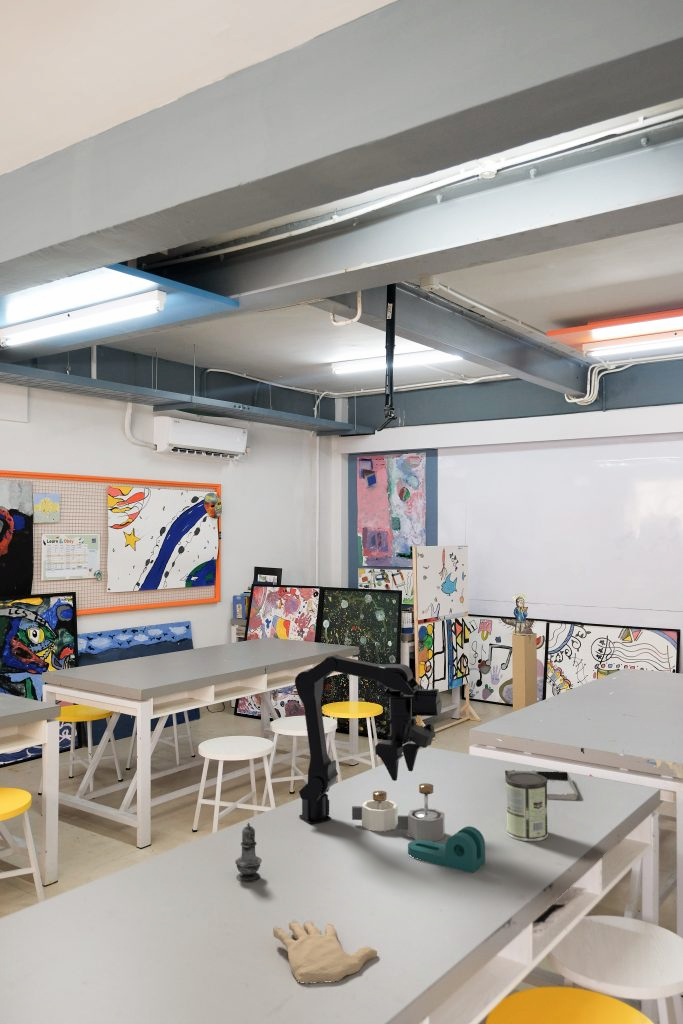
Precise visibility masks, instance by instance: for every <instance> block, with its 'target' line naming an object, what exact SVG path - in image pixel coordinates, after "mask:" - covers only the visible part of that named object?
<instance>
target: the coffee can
mask: <svg viewBox="0 0 683 1024" xmlns="http://www.w3.org/2000/svg"><path fill="white" fill-rule="evenodd" d="M505 785H506V834H507V835H508V836H509V837H510V838H512V839H514V840H516V841H523V842H540V841H543V840H545V839H547V838H548V836H549V834H548V799H547V794H548V779H547V778H546V777H544V776H542V775H539V774H534V773H513V774H509V775H507V776H506V779H505Z"/></svg>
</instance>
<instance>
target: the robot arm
mask: <svg viewBox="0 0 683 1024" xmlns="http://www.w3.org/2000/svg"><path fill="white" fill-rule="evenodd" d="M412 671H413V670H412V669H411V668H410V667H409V665H406V664H401V663H387V664H385V663H384V664H383V663H382V664H379V663H373V662H370V661H364V660H361V659H354V658H350V657H346V656H341V655H339V654H335V653H334V654H332V655H329V656H327V657H325V659H324V660H322V661H320V663H318V664H317V665H316V666H314V667H310V668H308V669H306V670H304V671H301V672H299V673H298V674H297V675H296V677H295V679H294V686H295V689H296V693H297V695H298V698H299V699H300V702H301V703H302V704H303V710H304V711H303V712H304V716H305V726H306V732H307V739H308V748H309V749H308V750H309V755H310V757H309V758H310V759H309V764H308V769H307V783H306V784H305V785H304V786H303V787H302V788H301V789H300V790H299V792H298V793H299V796H300V799H301V808H302V809H301V814H299V815H298V817H299V818H300V819H302V820H304V821H305V822H307V823H308V824H310V825H313V824H317V823H323V822H326V821H331V820H332V817H331V816H330V799H329V795H328V794H327V793H328V792H329V791H330V788H331V787H332V786H333V785H335V783H336V781H337V776H338V775H339V772H338V771H337V761H336V759H333V760H331V758H330V756H329V754H328V750H327V749H328V748H327V742H326V741H327V740H326V734H325V732H326V731H325V726H324V719H323V718H324V717H323V711H322V703H321V701H322V697H323V692H324V680H325V679H327V677H329V676H330V675H332V673H334V672H336V673H341V674H345V675H349V676H354V677H359V678H363V679H368V680H371V681H372V680H373V681H375V682H378V683H379V684H380V685H382V686H384V687H387V688H385V691H384V692H383V693H382V694H381V695H380V696H381V698H387V699H388V698H389V700H388V701H389V718H387V719H386V724H389V729H390V730H389V731H390V733H389V734H387V735H386V737H387V740H382V741H380V742H378V743H377V744H376V745H375V746H374V754H375V755H377V757H378V758H380V759H381V761H382V763H383V765H384V767H385V768H386V770H387V772H388V775H389V776H390V779H391V780H392V781H393V782H396V781H397V780H398V775H399V772H398V771H399V762H400V760H401V759H402V758H404V761H405V764H406V767H407V770H408V772H413V771H414V766H415V763H416V759H417V755H418V752H419V750H420V749H421V748H423V749H425V748H427V747H429V746H431V745H432V743H433V740H434V738H435V737H436V731H435V725H434V724H431V723H430V722H429V723H426V724H425V725H423V724H422V725H419V724H417V719H416V717H414V716H413V713H414V714H416V716H419V717H420V716H422V717H424V716H425V717H441V714H442V708H443V707H442V699H441V695H440V691H439V689H438V688H431V689H428V688H427V689H425V688H424V689H423V688H422V687H421V686H420V685H419V683H418V681H417V680H416V679H415V677H414V675H413V672H412Z"/></svg>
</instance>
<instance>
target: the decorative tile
mask: <svg viewBox="0 0 683 1024" xmlns="http://www.w3.org/2000/svg"><path fill="white" fill-rule="evenodd" d="M513 773H534V774H539V775H542V776H544V777H546V778H547V780H560V781H561V780H566V781H567V782H568V783H569V785H570V787H571V789H572V790H573V792H574V793H566V794H565V793H562V794H560V793H559V794H557V793H556V794H554V793H547V800H562V801H563V800H565V801H578V800H579V799H578V797H579V796H578V795H579V794H578V793H579V792H578V790H577V788H576V787H575V785H574V782H573V781H572V778H571V777H570V775H569V773H568V771H567V772H566V771H536V770H515V769H511V770H504V775H505V776H504V778H505V779H504V780H506V776H507V775H509V774H513Z"/></svg>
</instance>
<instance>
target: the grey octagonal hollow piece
mask: <svg viewBox="0 0 683 1024" xmlns="http://www.w3.org/2000/svg"><path fill="white" fill-rule="evenodd" d="M418 811H424V807H421V808H415V809H411V810H409V811H408V814H407V815H398V824H397V830H399V831H400V830H401V831H403V830H405V831H407V836H408V835H409V836H410V837H409V836H408V837H409V838H411V837H412V838H414V839H415V840H427V841H431V842H437V841H440V840H444V837H445V834H446V833H445V832H446V831H445V829H446V828H445V827H446V826H445V812H443V811H442V810H441V811H440V810H438V809H436V808H429V807H428V811H432V812H435V813H437V818H435V819H431V820H429V819H418V818H416V817H415V813H416V812H418ZM412 838H411V839H412ZM414 839H413V840H414ZM415 840H414V841H415Z"/></svg>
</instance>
